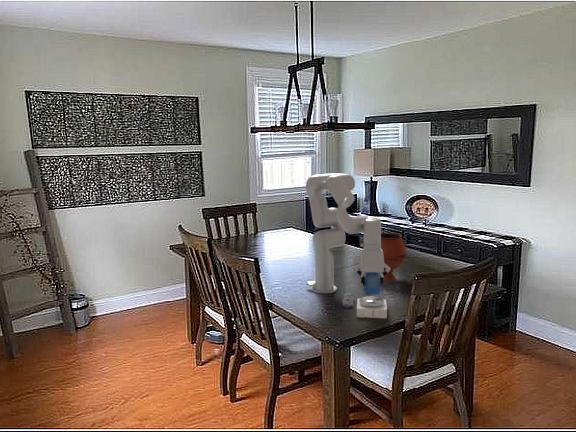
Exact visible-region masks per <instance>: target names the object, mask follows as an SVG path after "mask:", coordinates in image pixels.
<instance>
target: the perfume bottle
mask: <svg viewBox="0 0 576 432" xmlns="http://www.w3.org/2000/svg"><path fill="white" fill-rule="evenodd" d="M379 277H380V275H378V273H370V272H365V274H364V286H363V291H364V293H365V295H381V288H382V286H381V280H380V278H379Z"/></svg>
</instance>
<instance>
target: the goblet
mask: <svg viewBox="0 0 576 432" xmlns="http://www.w3.org/2000/svg"><path fill="white" fill-rule="evenodd" d="M381 249H382V250H383V256H384V263H385V264H386V265H387V266H389V267H390V269H391V270H390V271H389V272H388V273H387V274H386V275H385V276H384V277H383V282H393V281H396V277H395V275H394V274H393V272H394V270H395V269H398V268H400V266H401V265H403V263H404V262H405V261H406V258H407V248H406V245H405V242H404V239H403V236H402V234H400V233H397V232H395V233H393V232H387V233H386V232H381ZM385 270H386V268H385V267H384V271H385ZM384 271H383V272H384ZM379 278H380V276H379Z"/></svg>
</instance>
